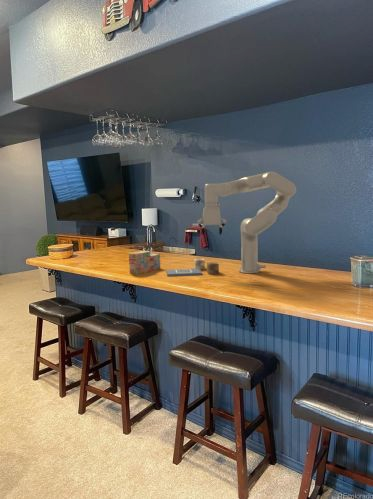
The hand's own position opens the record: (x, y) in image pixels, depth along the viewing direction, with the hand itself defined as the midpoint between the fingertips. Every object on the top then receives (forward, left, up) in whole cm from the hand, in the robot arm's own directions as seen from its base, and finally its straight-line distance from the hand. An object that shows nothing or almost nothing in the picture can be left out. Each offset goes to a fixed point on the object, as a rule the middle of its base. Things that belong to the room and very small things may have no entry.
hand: (211, 234), depth 218 cm
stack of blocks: (+40, -16, -23) cm, 48 cm away
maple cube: (+6, -14, -23) cm, 28 cm away
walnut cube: (0, +1, -23) cm, 23 cm away
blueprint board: (+17, -2, -23) cm, 28 cm away
